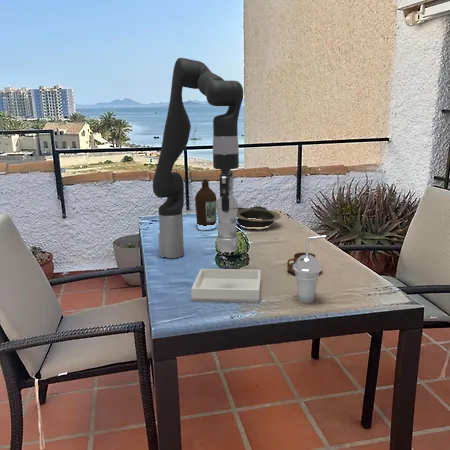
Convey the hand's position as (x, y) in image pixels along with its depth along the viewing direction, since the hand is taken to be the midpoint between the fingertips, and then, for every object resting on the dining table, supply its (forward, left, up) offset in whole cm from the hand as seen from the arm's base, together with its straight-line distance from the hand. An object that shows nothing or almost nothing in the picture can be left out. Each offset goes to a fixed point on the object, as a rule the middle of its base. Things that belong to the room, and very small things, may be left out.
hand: (226, 208), depth 129 cm
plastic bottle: (0, 0, -14) cm, 14 cm away
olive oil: (-19, +81, -27) cm, 88 cm away
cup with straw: (+24, -6, -27) cm, 36 cm away
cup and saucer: (+25, +19, -27) cm, 41 cm away
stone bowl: (+6, +87, -27) cm, 91 cm away
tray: (0, 0, -26) cm, 26 cm away
